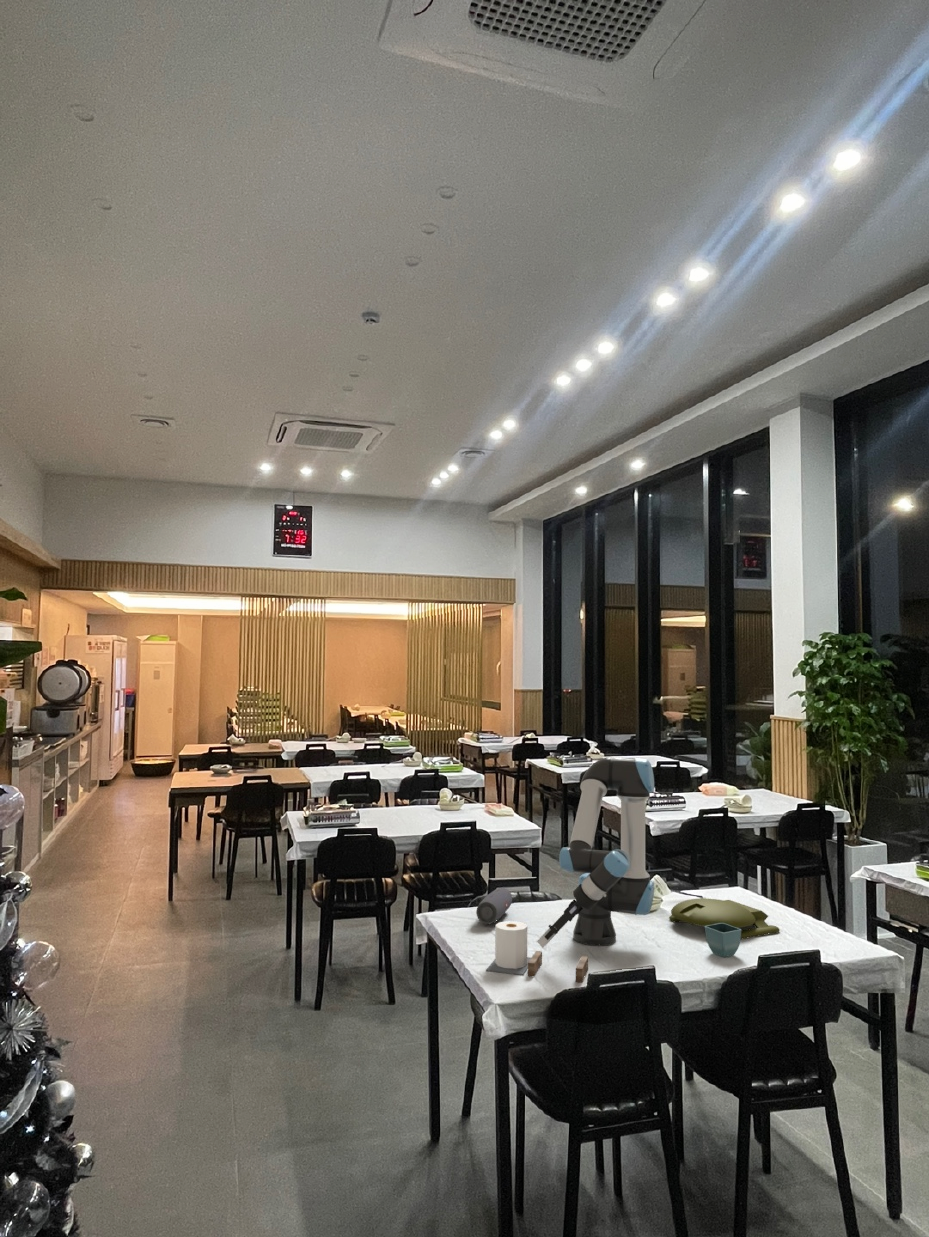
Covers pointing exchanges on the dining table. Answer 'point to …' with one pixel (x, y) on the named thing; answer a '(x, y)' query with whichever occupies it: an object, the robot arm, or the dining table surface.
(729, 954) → the flower pot
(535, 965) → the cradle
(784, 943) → the dining table surface
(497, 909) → the bluetooth speaker
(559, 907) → the dining table surface
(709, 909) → the spaceship
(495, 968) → the mat
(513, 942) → the toilet paper
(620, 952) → the dining table surface
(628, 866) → the robot arm
